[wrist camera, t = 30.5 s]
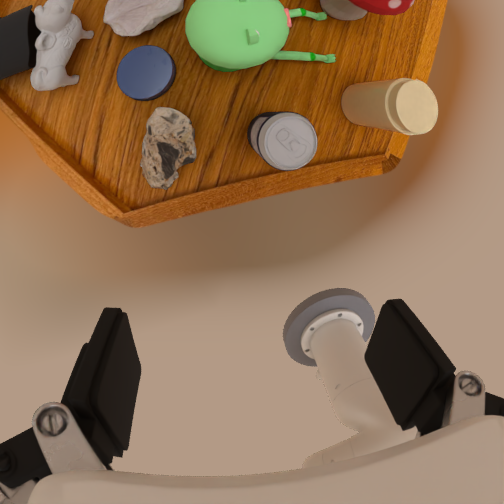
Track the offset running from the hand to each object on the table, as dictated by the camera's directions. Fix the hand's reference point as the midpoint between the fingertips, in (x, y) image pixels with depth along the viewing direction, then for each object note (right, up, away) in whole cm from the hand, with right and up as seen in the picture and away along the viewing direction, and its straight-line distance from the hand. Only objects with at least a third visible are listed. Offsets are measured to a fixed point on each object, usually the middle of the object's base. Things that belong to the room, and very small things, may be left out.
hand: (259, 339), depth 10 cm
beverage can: (+2, +18, +25) cm, 31 cm away
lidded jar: (+15, +23, +24) cm, 37 cm away
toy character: (+1, +29, +20) cm, 35 cm away
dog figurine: (-24, +30, +16) cm, 42 cm away
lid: (-13, +24, +18) cm, 33 cm away
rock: (-11, +16, +25) cm, 32 cm away
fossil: (-13, +33, +16) cm, 39 cm away
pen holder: (-37, +27, +7) cm, 46 cm away
